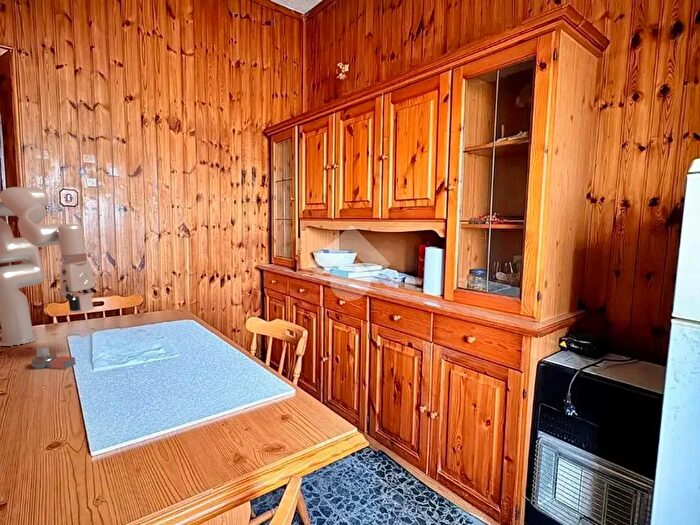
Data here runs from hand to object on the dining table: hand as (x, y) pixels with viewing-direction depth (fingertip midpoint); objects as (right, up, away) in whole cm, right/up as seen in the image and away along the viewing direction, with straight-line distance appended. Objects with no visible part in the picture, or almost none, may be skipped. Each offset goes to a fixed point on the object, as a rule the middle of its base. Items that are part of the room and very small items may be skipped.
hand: (81, 307), depth 146 cm
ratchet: (-4, -19, -8) cm, 21 cm away
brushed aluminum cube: (0, -1, 0) cm, 1 cm away
